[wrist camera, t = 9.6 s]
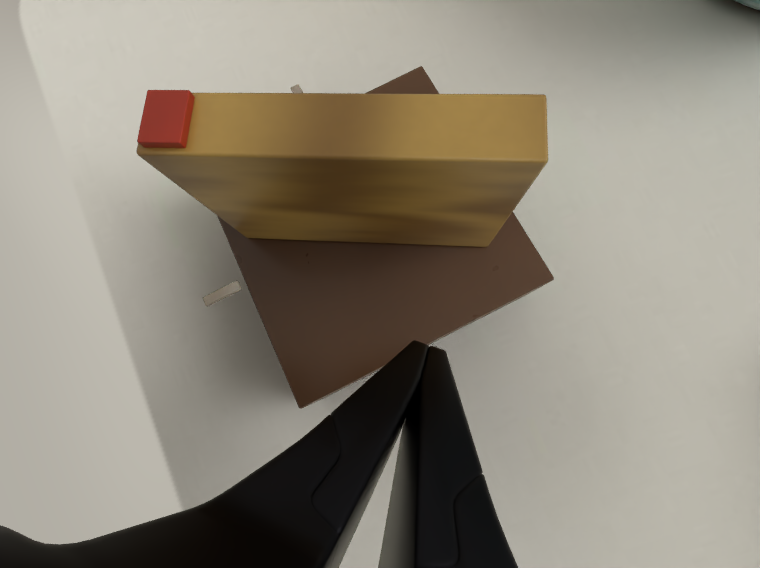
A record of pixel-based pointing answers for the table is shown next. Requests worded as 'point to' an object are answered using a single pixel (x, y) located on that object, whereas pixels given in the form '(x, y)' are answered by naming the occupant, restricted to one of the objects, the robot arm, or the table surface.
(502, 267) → the brown square slab
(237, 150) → the tan wooden flat block
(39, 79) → the table surface
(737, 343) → the table surface
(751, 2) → the bowl
